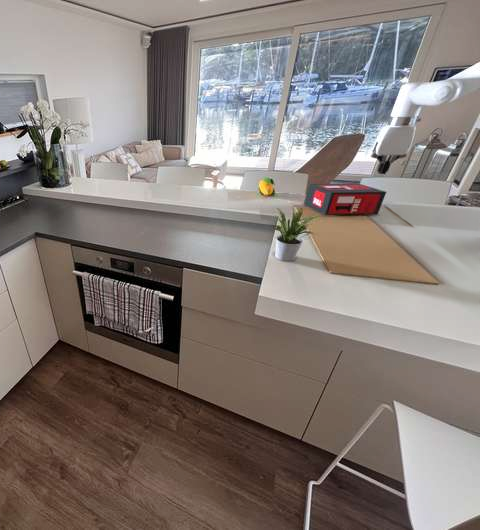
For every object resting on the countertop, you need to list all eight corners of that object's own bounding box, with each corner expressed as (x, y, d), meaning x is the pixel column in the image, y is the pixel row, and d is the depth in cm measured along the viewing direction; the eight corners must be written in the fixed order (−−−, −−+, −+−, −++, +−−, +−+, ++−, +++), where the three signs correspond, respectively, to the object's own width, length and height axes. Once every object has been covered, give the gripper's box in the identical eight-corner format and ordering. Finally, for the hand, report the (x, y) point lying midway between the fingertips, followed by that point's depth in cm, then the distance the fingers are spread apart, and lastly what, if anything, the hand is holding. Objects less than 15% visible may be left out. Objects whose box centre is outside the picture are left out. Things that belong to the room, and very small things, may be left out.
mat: (358, 209, 121) (359, 208, 120) (438, 284, 74) (439, 283, 73) (294, 207, 128) (294, 206, 128) (330, 273, 81) (330, 272, 81)
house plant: (319, 273, 81) (337, 219, 73) (265, 268, 85) (277, 216, 77) (306, 251, 93) (321, 202, 85) (260, 247, 97) (270, 200, 89)
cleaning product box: (350, 203, 128) (303, 203, 129) (357, 183, 124) (309, 183, 125) (377, 214, 113) (325, 214, 114) (386, 191, 109) (332, 192, 110)
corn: (274, 174, 149) (279, 184, 133) (272, 189, 152) (277, 200, 136) (258, 175, 151) (262, 185, 135) (257, 189, 155) (260, 200, 139)
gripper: (421, 120, 105) (400, 171, 114) (372, 122, 110) (355, 170, 119) (433, 122, 99) (409, 175, 108) (380, 123, 104) (362, 175, 113)
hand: (381, 173), depth 114 cm, fingers closed
